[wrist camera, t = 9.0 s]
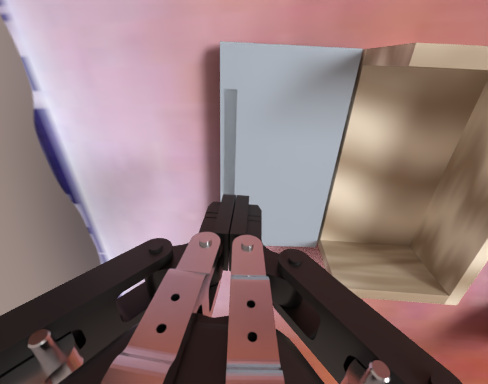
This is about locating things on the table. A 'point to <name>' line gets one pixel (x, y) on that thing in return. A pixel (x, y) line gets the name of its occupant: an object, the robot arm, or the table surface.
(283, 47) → the cabinet door
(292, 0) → the table surface
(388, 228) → the box
